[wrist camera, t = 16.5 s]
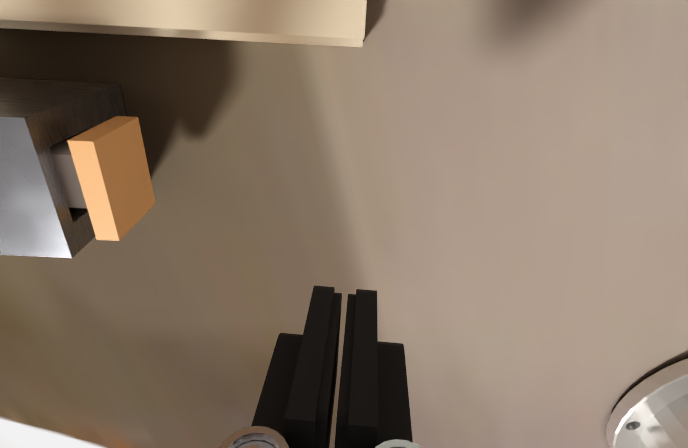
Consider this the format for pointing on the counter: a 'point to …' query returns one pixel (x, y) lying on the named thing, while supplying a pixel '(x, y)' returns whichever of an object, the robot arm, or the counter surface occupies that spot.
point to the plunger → (106, 175)
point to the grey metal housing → (45, 161)
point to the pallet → (198, 19)
